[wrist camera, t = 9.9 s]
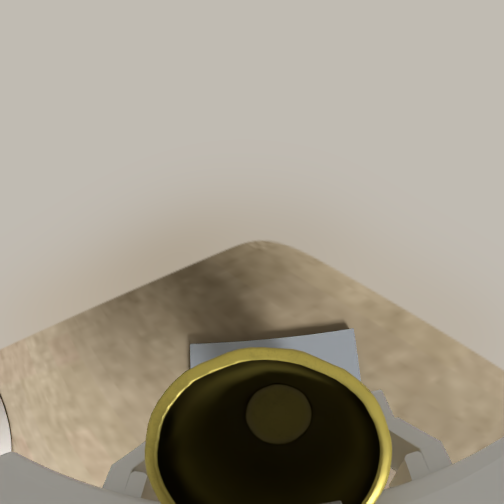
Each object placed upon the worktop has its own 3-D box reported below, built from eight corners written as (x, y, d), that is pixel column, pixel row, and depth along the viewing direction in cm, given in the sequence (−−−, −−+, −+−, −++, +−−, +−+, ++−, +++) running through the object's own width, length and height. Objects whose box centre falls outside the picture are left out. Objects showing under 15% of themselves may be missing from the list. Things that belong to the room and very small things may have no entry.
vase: (241, 365, 19) (152, 303, 6) (330, 375, 18) (426, 333, 5) (226, 446, 16) (115, 529, 4) (316, 458, 15) (375, 570, 2)
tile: (200, 472, 19) (197, 475, 18) (193, 345, 25) (189, 343, 24) (363, 459, 18) (366, 461, 17) (350, 330, 24) (353, 328, 23)
